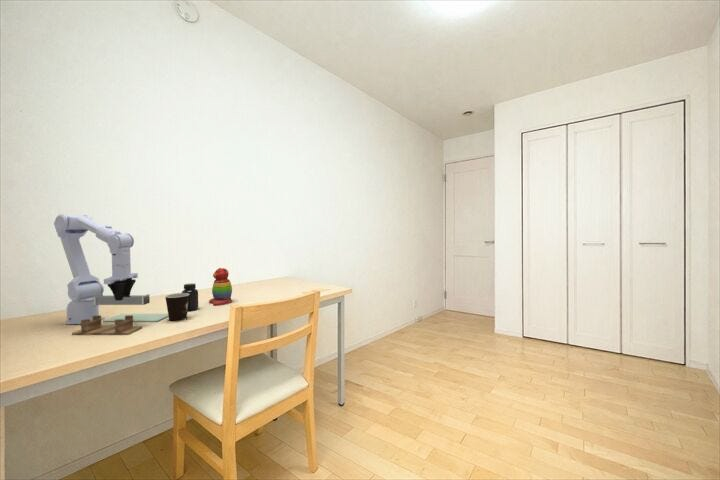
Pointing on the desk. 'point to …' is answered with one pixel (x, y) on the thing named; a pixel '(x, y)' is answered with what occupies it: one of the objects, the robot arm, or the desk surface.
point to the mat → (140, 317)
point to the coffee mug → (177, 306)
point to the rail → (125, 300)
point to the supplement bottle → (191, 296)
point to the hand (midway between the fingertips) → (122, 299)
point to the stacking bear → (221, 288)
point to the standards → (107, 327)
